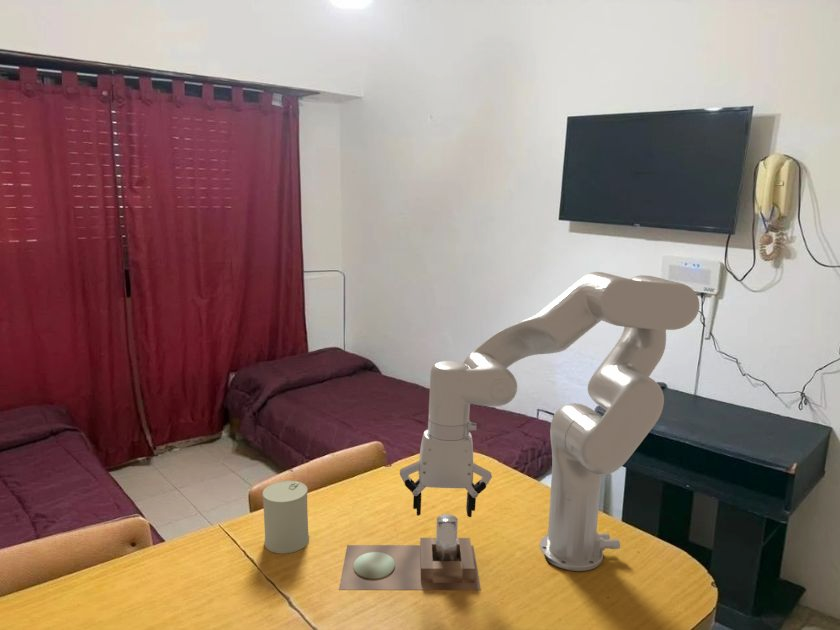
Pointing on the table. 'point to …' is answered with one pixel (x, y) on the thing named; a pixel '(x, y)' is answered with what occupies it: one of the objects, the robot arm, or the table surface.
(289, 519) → the can
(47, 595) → the table surface
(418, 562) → the pocket board
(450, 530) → the peg
